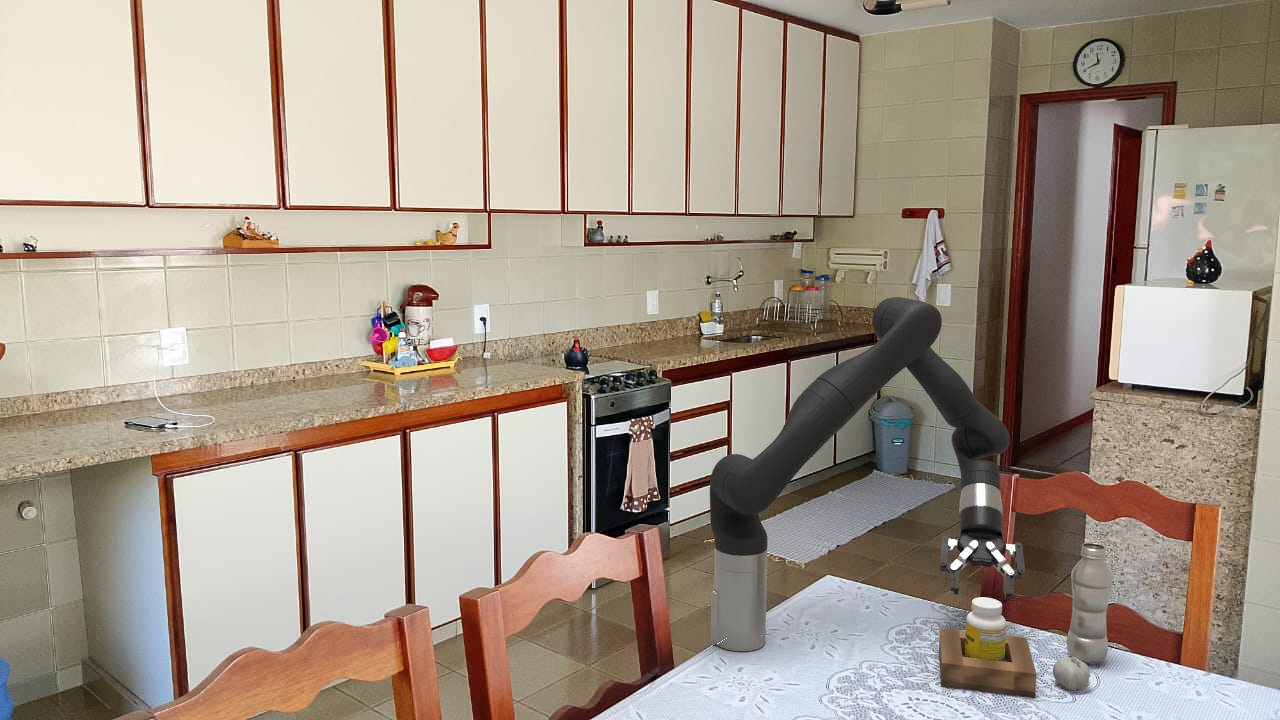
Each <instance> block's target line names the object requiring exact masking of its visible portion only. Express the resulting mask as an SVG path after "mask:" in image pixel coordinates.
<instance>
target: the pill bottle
mask: <svg viewBox="0 0 1280 720" xmlns="http://www.w3.org/2000/svg"><path fill="white" fill-rule="evenodd" d="M1002 613H1003V604H1002V602H1001V601H999V600H997V599H996V598H991V597H986V596H985V597H983V596H982V597H980V596H979V597H975V598H973V599H972V601H971V611H969V613H968V614H967V615H966V620H965V631H966V639H965V657H969V658H977V659H986V660H995V661H1003V662H1004V659H1005V640H1006V635H1007V621H1006V618H1005V617H1004V616H1003V615H1002Z"/></svg>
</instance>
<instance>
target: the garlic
mask: <svg viewBox="0 0 1280 720" xmlns="http://www.w3.org/2000/svg"><path fill="white" fill-rule="evenodd" d="M1052 674H1053V678H1054V679H1055V681H1056V682H1058V684H1060V685H1061V686H1062V687H1064V688H1065V689H1067V690H1068V691H1074V690H1080V689H1083V688H1084V687H1087V685H1088V684H1089V679H1090V674H1091V672H1090V668H1089V666H1088V664H1087V663H1084V662H1082V661H1080V660H1079V659H1077V658H1075V657H1071V656H1070V657H1069V656H1067V657H1061V658H1058V659H1057V660H1056V661H1055V663H1054V664H1053V667H1052Z"/></svg>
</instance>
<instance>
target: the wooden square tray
mask: <svg viewBox="0 0 1280 720" xmlns="http://www.w3.org/2000/svg"><path fill="white" fill-rule="evenodd" d="M965 639H966V630H962V629H961V630H960V629H950V628H943V627H941V628H939V640H938V641H939V642H938V657H939V659H938V660H939V672H940V673H939V677H940V687H942V688H948V689H949V688H951V689H958V690H966V691H975V692H980V693H983V692H984V693H990V694H998V695H1005V696H1006V695H1007V696H1015V697H1023V698H1030V699H1036V688H1037V671H1036V667H1035V665H1034V659H1033V656H1032V652H1031V650H1030V649H1031V648H1030V646H1029V642H1028V641H1029V640H1028V639H1027V637H1024V636H1015V635H1014V636H1013V635H1007V634H1006V640H1005V659H1004V662H1003V661H995V660H986V659H977V658H969V657H965Z"/></svg>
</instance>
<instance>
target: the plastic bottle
mask: <svg viewBox="0 0 1280 720" xmlns="http://www.w3.org/2000/svg"><path fill="white" fill-rule="evenodd" d="M1080 556H1081V557H1082V558H1081V559H1080V560H1079V561H1078V562H1077V563H1076V564H1075V565H1074V567H1072V569H1071V574H1070V577H1071V578H1070V579H1071V582H1070V583H1071V592H1072V614H1071V619H1070V627H1069V629H1068V633H1067V637H1066V643H1065V644H1066V649H1067V650H1066V651H1067V653H1068V655H1069V656H1070V658H1071V657H1075V658H1077V659H1079V660H1080V661H1082V662H1084V663H1085V664H1094V665H1097V664H1100V663H1103V662H1104V660H1106V658H1107V655H1108V652H1109V641H1108V636H1107V612H1108V611H1107V610H1108V604H1109V598H1110V594H1111V590H1112V585H1113V575H1112V572H1111V571H1110V568H1109V566H1108V565H1107V564H1106V563H1105V562H1104V560H1106V546H1105V545H1103V544H1100V543H1096V542H1095V543H1094V542H1085V543H1084V542H1083V543H1082V545H1081V551H1080Z"/></svg>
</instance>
